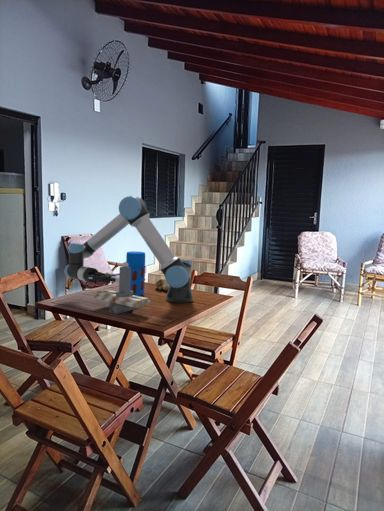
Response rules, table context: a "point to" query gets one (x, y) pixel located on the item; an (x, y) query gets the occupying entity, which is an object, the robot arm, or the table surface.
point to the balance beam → (121, 301)
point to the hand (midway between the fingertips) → (121, 280)
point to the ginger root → (162, 284)
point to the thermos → (137, 271)
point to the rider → (124, 281)
